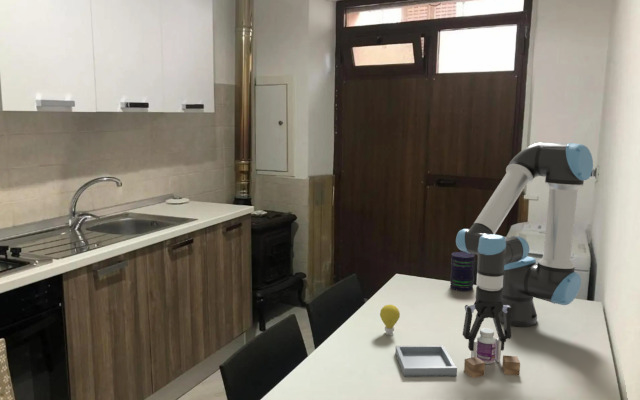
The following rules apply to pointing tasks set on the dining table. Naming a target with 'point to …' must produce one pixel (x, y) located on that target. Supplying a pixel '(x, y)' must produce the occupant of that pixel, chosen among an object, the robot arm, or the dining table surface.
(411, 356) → the tray
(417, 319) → the dining table surface
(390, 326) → the light bulb
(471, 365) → the walnut block
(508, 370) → the walnut block
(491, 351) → the pill bottle
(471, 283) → the storage jar
